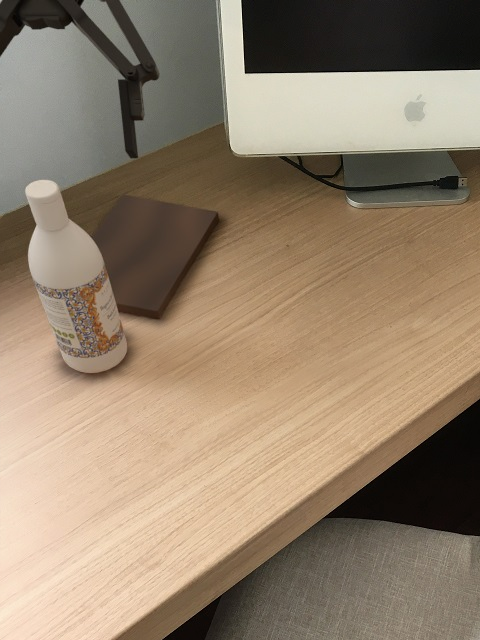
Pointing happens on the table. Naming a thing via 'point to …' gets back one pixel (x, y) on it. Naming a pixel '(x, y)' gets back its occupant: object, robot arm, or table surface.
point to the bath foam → (73, 285)
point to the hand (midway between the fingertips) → (61, 157)
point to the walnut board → (150, 250)
